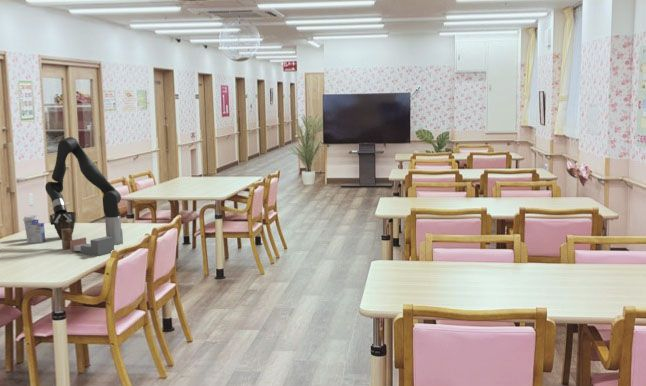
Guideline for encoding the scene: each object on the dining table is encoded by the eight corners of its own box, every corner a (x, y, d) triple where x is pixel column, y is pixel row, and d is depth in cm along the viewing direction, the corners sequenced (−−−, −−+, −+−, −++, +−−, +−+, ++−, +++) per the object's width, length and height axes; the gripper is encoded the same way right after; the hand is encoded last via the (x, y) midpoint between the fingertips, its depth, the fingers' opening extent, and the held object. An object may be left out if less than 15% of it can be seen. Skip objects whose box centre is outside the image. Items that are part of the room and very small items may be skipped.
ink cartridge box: (45, 241, 468) (44, 219, 466) (42, 243, 463) (40, 220, 461) (30, 241, 468) (28, 219, 466) (27, 243, 463) (25, 220, 461)
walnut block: (70, 247, 446) (69, 228, 445) (72, 248, 442) (71, 229, 440) (62, 248, 444) (61, 229, 442) (64, 250, 439) (62, 230, 438)
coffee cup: (34, 240, 472) (33, 217, 470) (21, 240, 474) (19, 217, 472) (43, 237, 481) (41, 215, 479) (30, 237, 483) (28, 215, 481)
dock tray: (70, 250, 432) (69, 240, 432) (85, 247, 442) (84, 237, 441) (82, 252, 427) (81, 242, 426) (96, 248, 436) (96, 238, 436)
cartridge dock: (81, 253, 427) (80, 238, 426) (96, 249, 437) (96, 235, 436) (98, 256, 419) (97, 240, 418) (114, 252, 430) (113, 237, 428)
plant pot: (64, 240, 469) (62, 216, 467) (48, 238, 477) (46, 214, 475) (82, 236, 482) (80, 212, 480) (66, 234, 489) (65, 211, 487)
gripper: (48, 205, 447) (53, 226, 439) (71, 202, 454) (77, 223, 446) (46, 212, 452) (51, 233, 444) (70, 210, 460) (75, 230, 451)
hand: (64, 228), depth 445 cm, fingers open, 8 cm apart
